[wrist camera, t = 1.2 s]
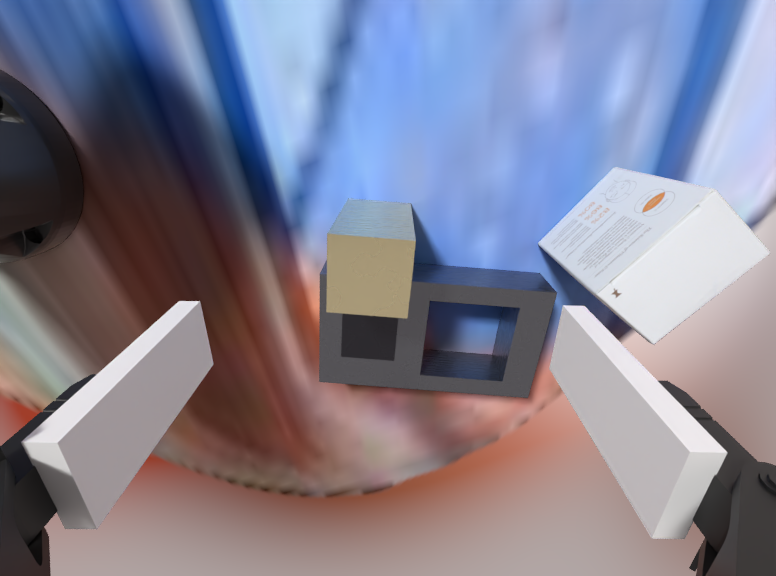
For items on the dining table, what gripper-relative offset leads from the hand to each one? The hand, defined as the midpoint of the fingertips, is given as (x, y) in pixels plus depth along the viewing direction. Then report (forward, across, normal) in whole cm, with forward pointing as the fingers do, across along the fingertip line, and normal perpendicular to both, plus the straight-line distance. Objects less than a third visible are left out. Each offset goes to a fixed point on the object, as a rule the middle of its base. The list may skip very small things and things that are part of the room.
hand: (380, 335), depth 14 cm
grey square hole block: (+19, +4, -9) cm, 21 cm away
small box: (+19, +17, -1) cm, 25 cm away
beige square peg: (+19, -1, -2) cm, 19 cm away
